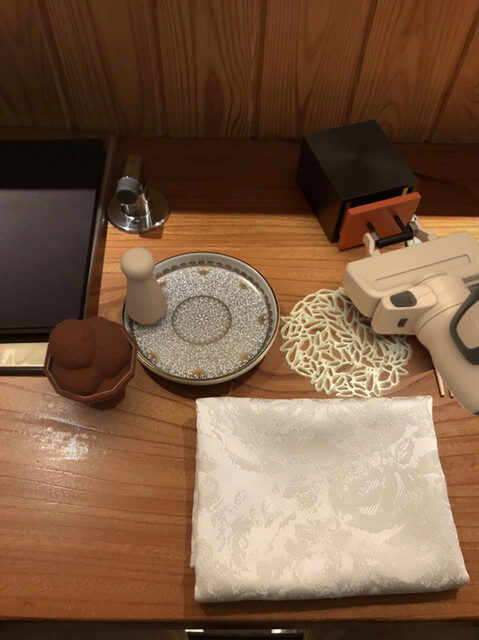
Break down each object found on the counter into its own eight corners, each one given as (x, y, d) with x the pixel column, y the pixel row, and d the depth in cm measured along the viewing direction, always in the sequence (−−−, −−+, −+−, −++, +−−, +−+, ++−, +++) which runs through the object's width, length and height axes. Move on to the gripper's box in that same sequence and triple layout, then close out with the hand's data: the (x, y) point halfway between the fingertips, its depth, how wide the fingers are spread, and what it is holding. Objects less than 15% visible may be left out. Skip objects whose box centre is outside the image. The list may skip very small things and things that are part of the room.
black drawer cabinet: (401, 225, 91) (419, 181, 83) (330, 243, 88) (342, 200, 80) (362, 164, 98) (375, 118, 90) (295, 180, 95) (302, 134, 87)
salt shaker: (176, 308, 81) (169, 251, 70) (153, 337, 78) (142, 283, 67) (143, 291, 82) (131, 232, 71) (119, 319, 80) (103, 262, 69)
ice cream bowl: (89, 447, 70) (60, 398, 57) (48, 381, 74) (13, 321, 62) (162, 401, 73) (150, 345, 60) (119, 341, 78) (99, 276, 65)
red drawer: (421, 254, 86) (437, 220, 80) (354, 273, 84) (365, 239, 78) (368, 174, 95) (379, 137, 89) (306, 189, 93) (313, 152, 86)
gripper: (512, 270, 75) (458, 198, 82) (375, 311, 71) (330, 231, 78) (493, 297, 80) (443, 227, 87) (364, 336, 76) (323, 259, 83)
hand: (389, 229), depth 82 cm, fingers closed on red drawer, 5 cm apart
